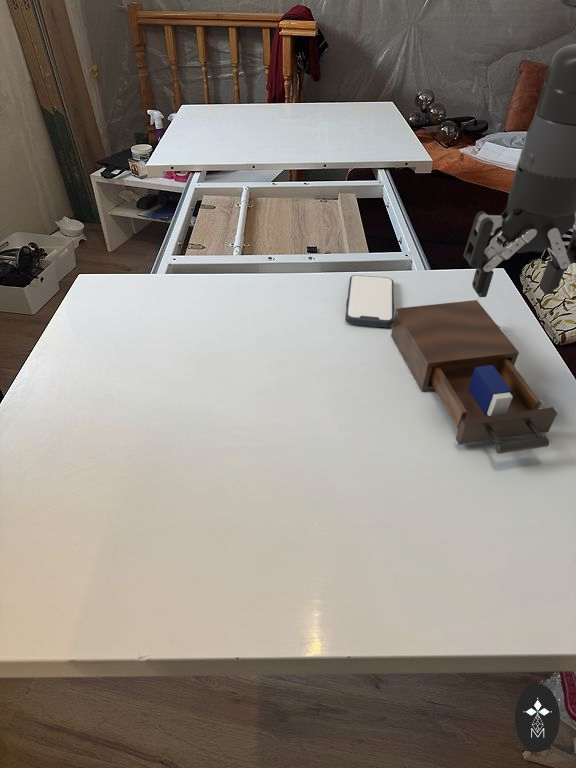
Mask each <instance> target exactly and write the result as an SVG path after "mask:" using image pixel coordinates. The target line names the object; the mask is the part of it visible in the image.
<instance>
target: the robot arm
mask: <svg viewBox="0 0 576 768" xmlns="http://www.w3.org/2000/svg"><path fill="white" fill-rule="evenodd" d="M560 2H561V3H562V4H563V5H564V6H566V7H567V8H569V9H571V10H574V11H576V0H560ZM507 197H508V198H507V204H506V207H505V209H504V210H503V212H502V213H501V214H500V215H496V214H495V215H494V214H487V213H486V211H483V210H480V211H478V212H477V213H476V214H475V217H474V220H473V223H472V227H471V229H470V232H469V236H468V239H467V242H466V245H465V248H464V252H463V258H464V259H465V260H466V261H467V263H468V264H469V266H470V268H472V269H475V272H474V276H473V278H472V283H471V286H472V288H473V290H474V291H475V293H476V294H477V296H478V297H479V298H487V296H488V293H489V289H490V287H491V282H492V279H493V276H494V273H495V272H494V271H493V270H494V269H495V268H496V267H497V266H498V265H499V264H500V263H502V262H503V261H508V260H509V259H510V258H511V257H512V256H513V255H514V254H516V253H518V254H525V253H528V252H529V253H530V252H535V253H544V252H545V250H547V252H548V253H549V256H550V258H551V259H550V260H548V261H547V263H546V266H545V268H544V270H543V273H542V276H541V279H540V282H539V289H540V290H541V291H542V292H543V294H544V295H552V294H553V293H554V291H555V290H557V289H558V287H559V286H560V283H561V281H562V278H563V276H564V274H565V272H566V269H568V268H569V267H570V265H572V264H575V263H576V43H572V44H567V45H565V46H563V47H561V48H559V49H558V50H557V51H556V52H555V53H554V55H553V57H552V58H551V60H550V63H549V65H548V69H547V72H546V75H545V78H544V81H543V85H542V87H541V92H540V95H539V99H538V102H537V106H536V108H535V112H534V115H533V118H532V121H531V123H530V125H529V127H528V129H527V132H526V135H525V137H524V141H523V144H522V148H521V151H520V155H519V158H518V161H517V165H516V168H515V171H514V175H513V178H512V183H511V186H510V189H509V192H508V196H507ZM499 228H500V230H499V232H498V233H497V234H496V235H495V232H496V230H497V229H499ZM572 228H573V231H572V234H571V237H570V240H569V243H568V246H567V248H566V246H565V244H564V241H563V239H562V237H563V236H564V235H565V234H566V233H567V232H568V231H570V230H571V229H572ZM494 235H495V236H494ZM492 236H493V237H492ZM490 237H492V238H491V239H490ZM489 240H490V241H489ZM505 242H506V243H507V245H506V246H503V245H504V243H505ZM488 243H489V244H488Z"/></svg>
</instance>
